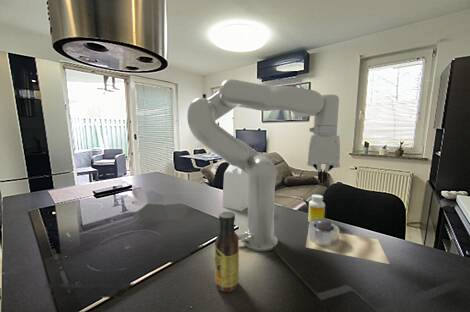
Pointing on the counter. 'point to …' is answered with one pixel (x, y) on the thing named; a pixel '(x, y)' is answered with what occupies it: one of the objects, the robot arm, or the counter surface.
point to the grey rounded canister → (323, 224)
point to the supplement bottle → (316, 208)
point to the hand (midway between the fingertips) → (322, 182)
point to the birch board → (354, 248)
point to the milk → (235, 188)
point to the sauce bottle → (226, 254)
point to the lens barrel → (323, 235)
